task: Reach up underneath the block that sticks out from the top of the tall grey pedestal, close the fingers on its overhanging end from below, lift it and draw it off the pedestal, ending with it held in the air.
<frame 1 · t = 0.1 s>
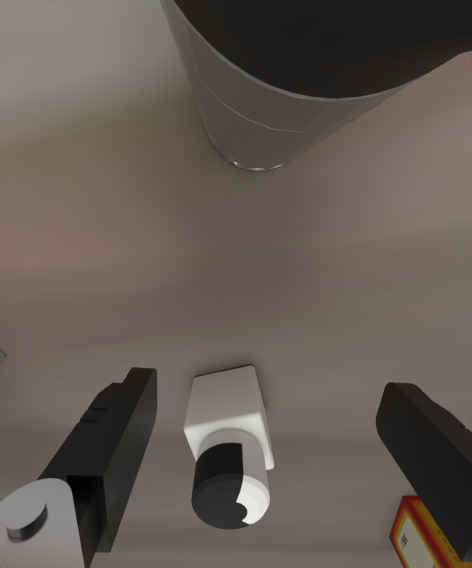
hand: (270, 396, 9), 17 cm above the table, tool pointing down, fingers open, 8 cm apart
medicine bottle: (230, 393, 30), on the table
baking soda box: (416, 515, 39), on the table
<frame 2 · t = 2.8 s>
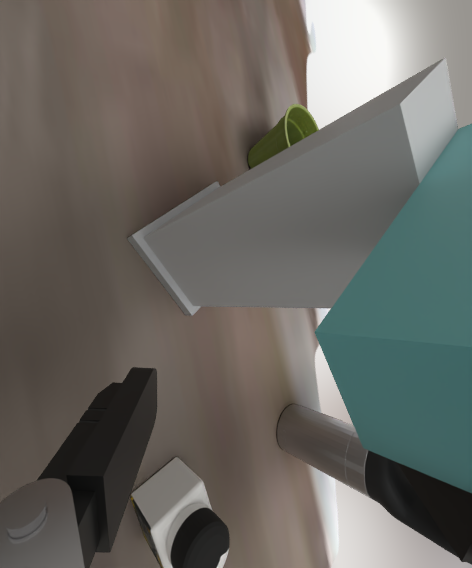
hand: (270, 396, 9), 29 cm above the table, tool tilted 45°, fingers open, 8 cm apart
medicine bottle: (161, 494, 36), on the table
plant pot: (259, 166, 53), on the table
pedestal: (198, 246, 42), on the table
block: (435, 205, 14), point 32 cm above the table, touching gripper, pedestal
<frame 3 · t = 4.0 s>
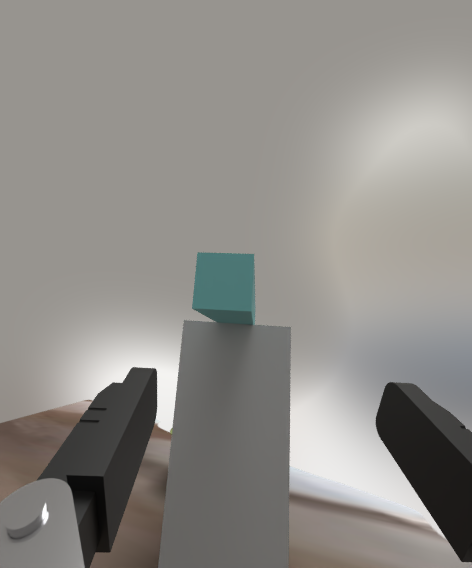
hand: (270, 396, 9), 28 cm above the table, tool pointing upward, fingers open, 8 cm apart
block: (236, 325, 31), point 32 cm above the table, touching pedestal
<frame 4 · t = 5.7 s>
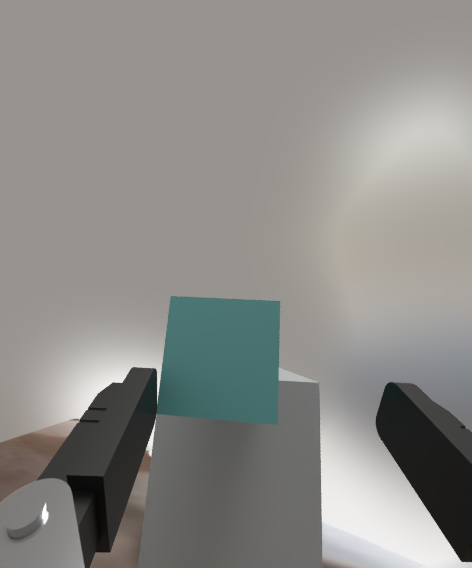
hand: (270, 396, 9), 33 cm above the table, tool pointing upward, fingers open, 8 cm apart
block: (240, 374, 22), point 32 cm above the table, touching pedestal
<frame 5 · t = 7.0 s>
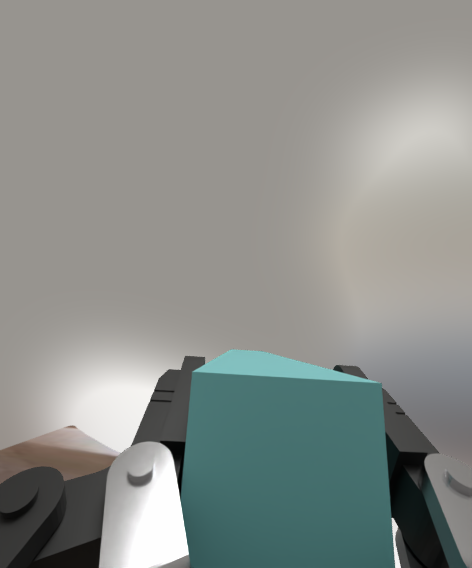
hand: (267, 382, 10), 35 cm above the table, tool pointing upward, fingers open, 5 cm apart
block: (249, 412, 18), point 32 cm above the table, touching pedestal
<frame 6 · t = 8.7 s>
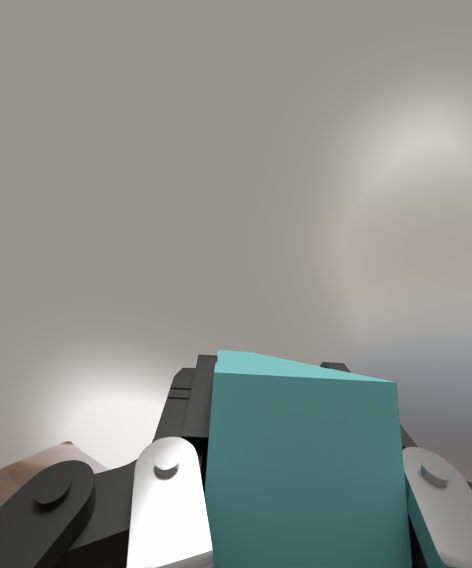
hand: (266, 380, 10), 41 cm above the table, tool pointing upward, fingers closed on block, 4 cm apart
block: (241, 412, 18), point 38 cm above the table, touching gripper
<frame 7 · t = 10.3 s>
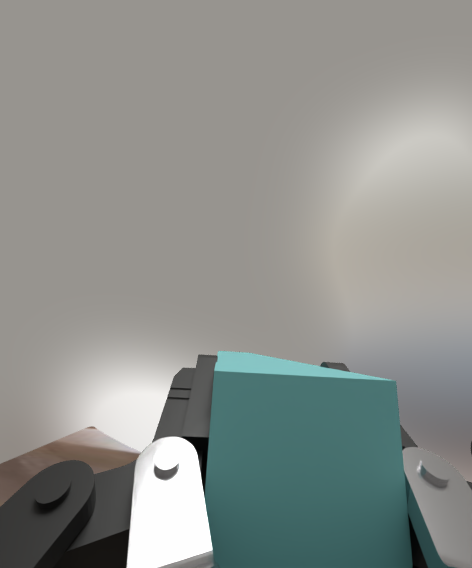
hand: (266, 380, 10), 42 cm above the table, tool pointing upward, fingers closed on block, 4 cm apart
block: (241, 413, 18), point 39 cm above the table, touching gripper
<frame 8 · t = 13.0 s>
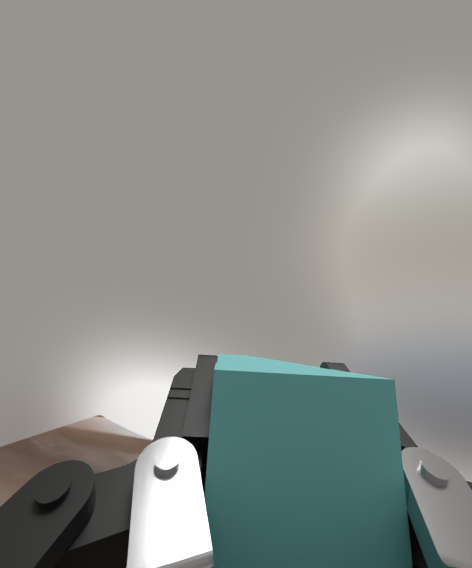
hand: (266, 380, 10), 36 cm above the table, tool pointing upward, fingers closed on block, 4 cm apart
block: (241, 416, 18), point 32 cm above the table, touching gripper
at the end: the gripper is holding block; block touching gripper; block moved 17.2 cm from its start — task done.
